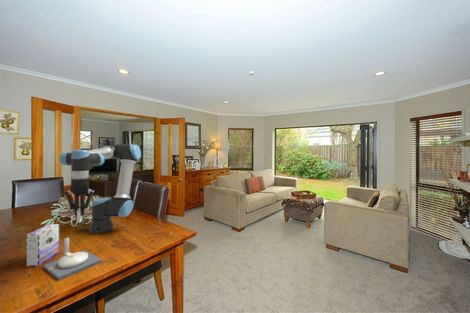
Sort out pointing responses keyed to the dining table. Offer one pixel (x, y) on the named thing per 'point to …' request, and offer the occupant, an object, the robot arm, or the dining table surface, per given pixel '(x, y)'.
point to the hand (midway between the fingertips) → (79, 221)
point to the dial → (71, 257)
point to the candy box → (42, 244)
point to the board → (65, 272)
